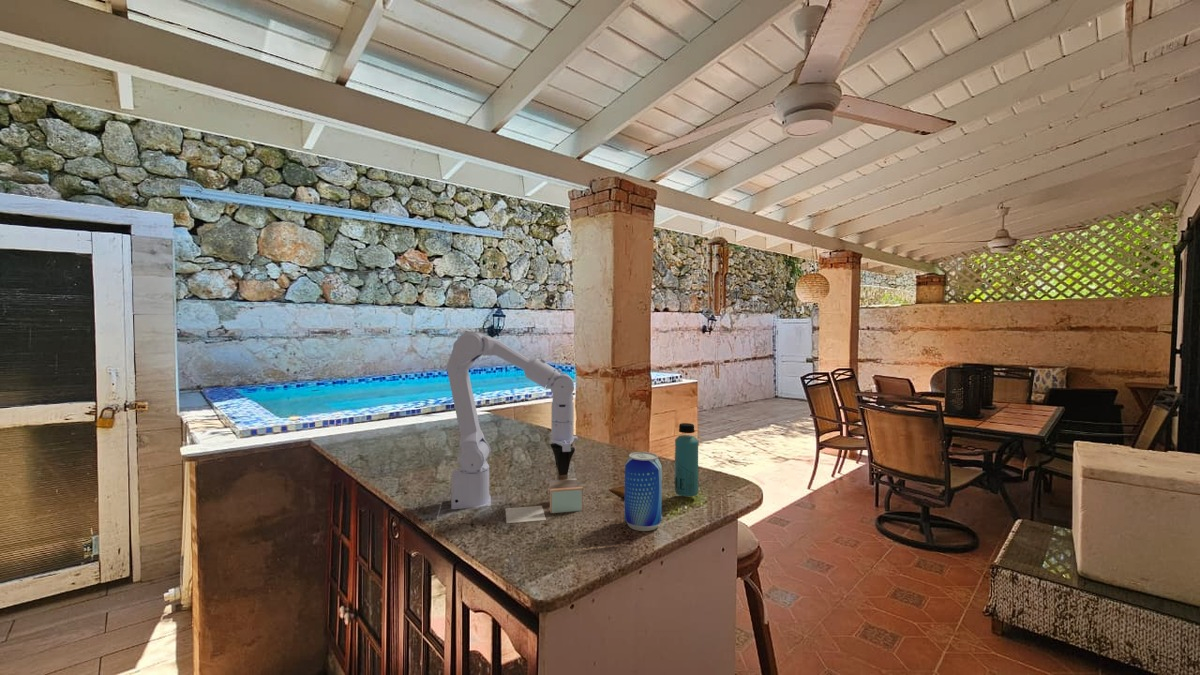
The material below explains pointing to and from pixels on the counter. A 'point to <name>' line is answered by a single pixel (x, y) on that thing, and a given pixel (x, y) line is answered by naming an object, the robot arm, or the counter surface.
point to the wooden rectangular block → (562, 482)
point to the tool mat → (524, 514)
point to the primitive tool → (619, 491)
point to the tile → (566, 499)
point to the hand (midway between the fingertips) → (562, 472)
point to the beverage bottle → (686, 462)
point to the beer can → (643, 491)
